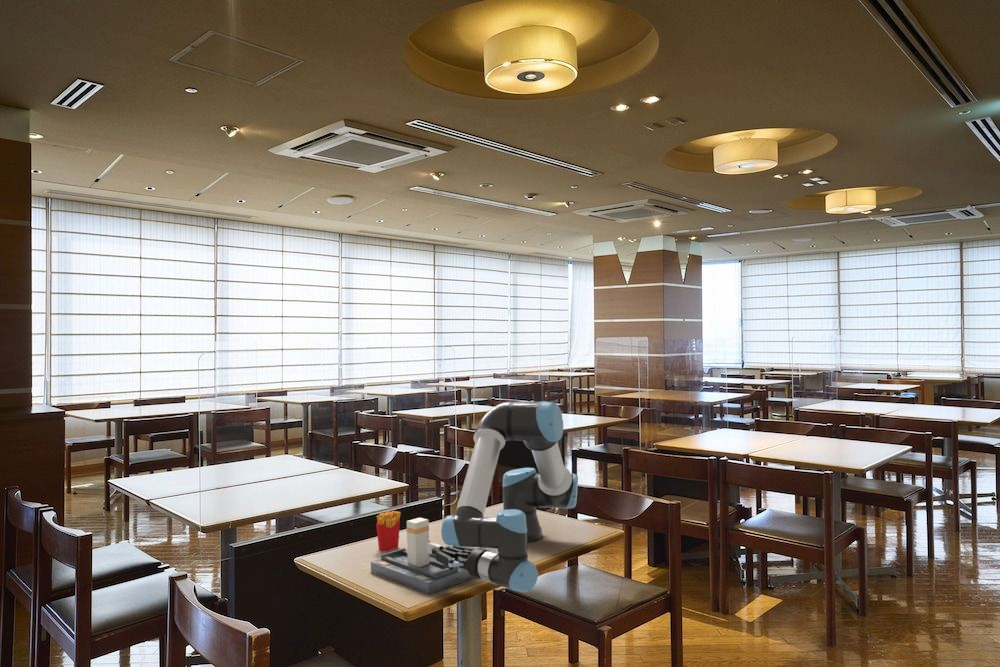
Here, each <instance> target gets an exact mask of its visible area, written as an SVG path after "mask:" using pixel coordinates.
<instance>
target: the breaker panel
mask: <svg viewBox="0 0 1000 667" xmlns="http://www.w3.org/2000/svg"><path fill="white" fill-rule="evenodd" d="M429 542H431V540H429ZM463 547H464V546H463ZM469 548H475V547H469ZM370 572H371V573H373V572H374V573H373V574H375V573H376V574H375V575H378V574H379V576H380V575H381V576H380V577H383V576H384V577H383V578H386V579H388V578H389V579H388V580H391V579H392V580H391V581H393V580H394V582H396V581H397V583H398V582H399V584H402V585H404V586H406V587H409V588H411V589H414V590H418V591H419V592H422V593H425V594H427V595H431V594H433V593H435V592H438V591H441V590H444V589H446V588H448V587H452V586H453V585H457V584H459V583H461V582H465V581H467V579H468V580H470V579H472V578H471V577H473V576H471V575H470V574H469V572H468V571H467V569H463V568H460V567H459V566H455V568H454V569H453V570H449V568H448V567H447V566H445V565H443V564H442V563H440V562H438V561H437V560H436V555H433V554H429V564H427V565H424V566H421V567H417V566H414V565H411V564H408V558H407V547H403V548H399V549H396V550H395V549H394V550H393V551H390V552H386V553H382V554H380V558H379V559H375V560H372V561H370ZM469 578H470V579H469ZM473 578H474V577H473ZM464 580H465V581H464Z"/></svg>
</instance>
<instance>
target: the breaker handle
mask: <svg viewBox="0 0 1000 667" xmlns="http://www.w3.org/2000/svg"><path fill="white" fill-rule="evenodd" d="M429 522H430V520H429V519H427V518H423V517H416V518H413V519H410V520H406V550H407V558H408V564H411V565H414V566H417V567H421V566H424V565H427V564H429V553H427V543H429V541H430V526H429V524H430V523H429Z"/></svg>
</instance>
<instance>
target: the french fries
mask: <svg viewBox="0 0 1000 667" xmlns="http://www.w3.org/2000/svg"><path fill="white" fill-rule="evenodd" d="M401 514H402V513H401V511H398V510H392V511H390V510H387V511H386V510H385V512H382V513H379V514H378V515H376V520H377V522H376V523H375V525H376V534H377V536H376V537H377V544H378V550H379V551H380V552H388V551H391V550H395V549H396V550H397V549H398V547H399V542H400V526H401V525H400V524H401V520H400V519H401Z"/></svg>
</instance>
